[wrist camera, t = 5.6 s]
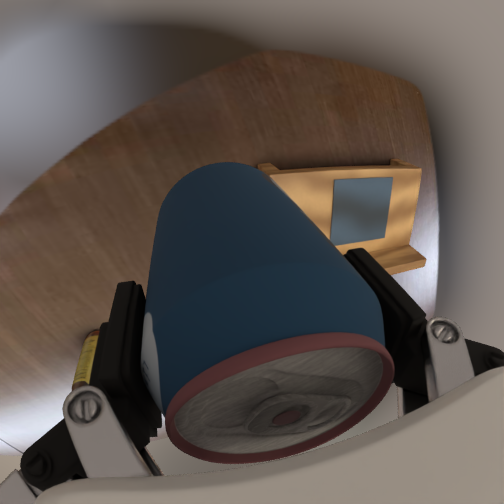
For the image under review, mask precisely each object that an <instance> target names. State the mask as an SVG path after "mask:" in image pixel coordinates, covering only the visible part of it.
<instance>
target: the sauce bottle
mask: <svg viewBox="0 0 504 504" xmlns="http://www.w3.org/2000/svg"><path fill="white" fill-rule="evenodd" d="M98 335H99V331H94V332H91V333H90V334H89V335H88V336H87V337H86V339H85V342H84V344H83V348H82V351H81V355H80V358H79V362H78V365H77V369H76V373H75V377H74V381H73V385H72V391H73V390H75V389H76V388H79V387H82V386H89V380H90V374H91V369H92V364H93V359H94V354H95V349H96V344H97V340H98Z"/></svg>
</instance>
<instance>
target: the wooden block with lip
mask: <svg viewBox="0 0 504 504" xmlns="http://www.w3.org/2000/svg"><path fill="white" fill-rule="evenodd" d="M258 170H260V171H262V172H264V173H265V174H267V175H268V176H269V177H271V178H272V179H273V180H274V181H275V182H276V183H277V184H278V185H279V186H280V187H281V188H282V189H283V190H284V191H285V193H286V194H287V195H288V196H289V197H290V198H291V199H292V200H293V201H294V202H295V203H296V204H297V205H298V206H299V207H300V208H301V209H302V210H303V212H304V213H305V214H306V215H307V216H308V217H309V218H310V219H311V220H312V221H313V222H314V223H315V224H316V226H317V227H318V228H319V229H320V230H321V231H322V232H323V233H324V234H325V235H326V237H327V238H328V239H329V240H330V241H331V242H332V243H333V244H334V246H335V247H336V248H337V249H338V250H339V251H340V252H341V253H342V255H344V254H346V252H347V251H348V250H349V249H355V248H364V249H365V250H366V251H367V252H368V253H369V254H370V255H371V256H372V257H373V258H374V259H375V260H376V261H377V262H378V263H379V264H380V265H381V266H382V267H383V268H384V269H385V270H386V271H387V272H388V273H389V274H390V275H393V274H397V273H401V272H405V271H409V270H413V269H417V268H421V267H424V266H425V263H426V258H425V257H424V256H422V255H421V254H420V253H419V252H418V251H416V250H415V249H414V248H413V247H411V246H410V245H409V242H410V237H411V232H412V227H413V222H414V217H415V211H416V205H417V199H418V193H419V186H420V179H421V171H422V169H421V168H419V167H416V166H414V165H412V164H409V163H407V162H404V161H402V160H399V159H391V160H390V166H342V167H320V168H303V169H288V170H279V169H277V168H276V167H275V166H274V165H272V164H271V163H264V164H258Z"/></svg>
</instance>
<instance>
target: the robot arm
mask: <svg viewBox="0 0 504 504" xmlns="http://www.w3.org/2000/svg"><path fill="white" fill-rule="evenodd" d="M343 256H344V257H345V258H346V259H347V260H348V262H349V263H350V264H351V265H352V266H353V267H354V268H355V270H356V271H357V272H358V273H359V274H360V276H361V277H362V278H363V279H364V280H365V281H366V283H367V284H368V285H369V286H370V287H371V289H372V290H373V291H374V293H375V294H376V296H377V298H378V300H379V303H380V306H381V310H382V315H383V324H384V337H385V348H386V350H387V351H388V352H389V354H390V356H391V357H392V360H393V363H394V369H395V370H394V378H393V381H392V383H395V385H396V386H397V401H398V419H396V420H393V421H391V422H389V423H387V424H384V425H382V426H380V427H377V428H375V429H372V430H370V431H368V432H365V433H362V434H360V435H357V436H355V437H352V438H349V439H347V440H344V441H341V442H338V443H335V444H332V445H329V446H326V447H323V448H319V449H316V450H313V451H310V452H306V453H302V454H299V455H295V456H291V457H287V458H283V459H279V460H275V461H270V462H266V463H261V464H256V465H251V466H246V467H240V468H234V469H227V470H220V471H213V472H204V473H194V474H183V475H171V476H165V475H164V474H163V472H162V471H161V469H160V468H159V466H158V465H157V463H156V462H155V460H154V459H153V457H152V456H151V454H150V453H149V451H148V450H147V448H146V445H147V444H148V443H150V437H157V428H161V427H162V415H161V411H160V409H159V408H158V406H157V405H156V403H155V401H154V400H153V398H152V397H151V395H150V393H149V391H148V389H147V387H146V385H145V383H144V380H143V377H142V373H141V348H142V335H143V324H144V313H145V304H146V299H145V295H144V292H143V289H142V286H141V285H140V284H138V285H136V283H135V281H128V282H121V283H118V285H117V289H116V293H115V297H114V301H113V305H112V309H111V313H110V318H109V322H105V323H102V324H101V327H100V331H99V335H98V340H97V344H96V349H95V354H94V359H93V364H92V369H91V374H90V380H89V386H82V387H79V388H76V389H75V390H73V391H72V392H71V393H70V394H69V395H68V396H67V397H66V399H65V401H64V404H63V415H64V419H63V420H61V421H60V422H59V423H58V424H57V425H55V426H54V427H53V428H52V429H51V430H49V431H48V432H47V433H46V434H45V435H43V436H42V437H41V438H40V439H39V440H37V441H36V442H35V443H34V444H33V445H31V446H30V447H29V448H28V449H27V450H26V451H25V452H24V453H23V456H22V458H21V463H20V467H21V469H20V470H19V471H18V470H16V469H15V470H14V471H13V472H12V473H11V474H10V475H9V476H8V477H7V478H6V479H5V480H4V481H3V482H2V483H1V484H0V504H504V352H502V351H501V350H500V349H497V348H495V347H492V346H488V345H485V344H482V343H478V342H475V341H471V340H468V339H464V336H463V333H462V331H461V329H460V327H459V326H458V325H457V324H456V323H455V322H454V321H452V320H451V319H448V318H446V317H434V318H431V319H430V320H429V321H427V320H426V319H425V317H426V313H425V312H424V311H423V310H422V309H421V308H420V307H419V306H418V304H417V303H416V302H415V301H414V300H413V299H412V298H411V297H410V296H409V295H408V293H407V292H406V291H405V290H404V289H403V288H402V287H401V286H400V285H399V284H398V283H397V282H396V281H395V280H394V278H393V277H392V276H391V275H390V274H389V273H388V272H387V271H386V270H385V269H384V268H383V267H382V266H381V265H380V264H379V263H378V262H377V261H376V260H375V259H374V258H373V257H372V256H371V255H370V254H369V253H368V252H367V251H366V250H365V249H364V248H355V249H349V250H348V251H347V252H346V254H344V255H343Z"/></svg>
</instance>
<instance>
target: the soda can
mask: <svg viewBox="0 0 504 504" xmlns="http://www.w3.org/2000/svg"><path fill="white" fill-rule="evenodd" d="M394 370H395V369H394V363H393V360H392V357H391V356H390V354H389V352H388V351H387V350H386V348H385V337H384V324H383V315H382V310H381V306H380V303H379V300H378V298H377V296H376V294H375V293H374V291H373V290H372V289H371V287H370V286H369V285H368V284H367V283H366V281H365V280H364V279H363V278H362V277H361V276H360V274H359V273H358V272H357V271H356V270H355V268H354V267H353V266H352V265H351V264H350V263H349V262H348V260H347V259H346V258H345V257H344V256H343V255H342V253H341V252H340V251H339V250H338V249H337V248H336V247H335V246H334V244H333V243H332V242H331V241H330V240H329V239H328V238H327V237H326V235H325V234H324V233H323V232H322V231H321V230H320V229H319V228H318V227H317V226H316V224H315V223H314V222H313V221H312V220H311V219H310V218H309V217H308V216H307V215H306V214H305V213H304V212H303V210H302V209H301V208H300V207H299V206H298V205H297V204H296V203H295V202H294V201H293V200H292V199H291V198H290V197H289V196H288V195H287V194H286V193H285V191H284V190H283V189H282V188H281V187H280V186H279V185H278V184H277V183H276V182H275V181H274V180H273V179H272V178H271V177H269V176H268V175H267V174H265V173H264V172H262V171H260V170H258V169H256V168H254V167H251V166H249V165H245V164H240V163H233V162H222V163H215V164H210V165H206V166H203V167H201V168H198V169H196V170H194V171H192V172H190V173H189V174H187V175H186V176H184V177H183V178H182V179H181V180H179V181H178V182H177V183H176V184H175V185H174V186H173V188H172V189H171V190H170V191H169V193H168V194H167V196H166V197H165V199H164V201H163V203H162V206H161V208H160V212H159V216H158V221H157V227H156V232H155V238H154V244H153V251H152V257H151V264H150V271H149V279H148V287H147V295H146V304H145V313H144V324H143V335H142V348H141V373H142V377H143V380H144V383H145V385H146V387H147V389H148V391H149V393H150V395H151V397H152V398H153V400H154V401H155V403H156V405H157V406H158V408H159V409H160V411H161V412H162V414H163V416H164V417H165V426H166V432H167V435H168V437H169V439H170V440H171V442H172V443H173V444H174V445H175V446H176V447H177V448H178V449H180V450H181V451H183V452H184V453H186V454H188V455H190V456H193V457H196V458H198V459H201V460H205V461H209V462H214V463H223V464H244V463H256V462H264V461H270V460H275V459H280V458H284V457H288V456H291V455H295V454H298V453H301V452H304V451H306V450H309V449H312V448H315V447H317V446H319V445H321V444H324V443H326V442H328V441H330V440H332V439H334V438H336V437H337V436H339V435H341V434H342V433H344V432H346V431H347V430H349V429H350V428H352V427H353V426H354V425H356V424H357V423H359V422H360V421H361V420H362V419H364V418H365V417H366V416H367V415H368V414H369V413H371V412H372V410H374V409H375V407H376V406H377V405H378V404H379V403H380V401H382V399H383V398H384V396H385V395H386V393H387V392H388V390H389V388H390V386H391V384H392V381H393V378H394Z"/></svg>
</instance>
